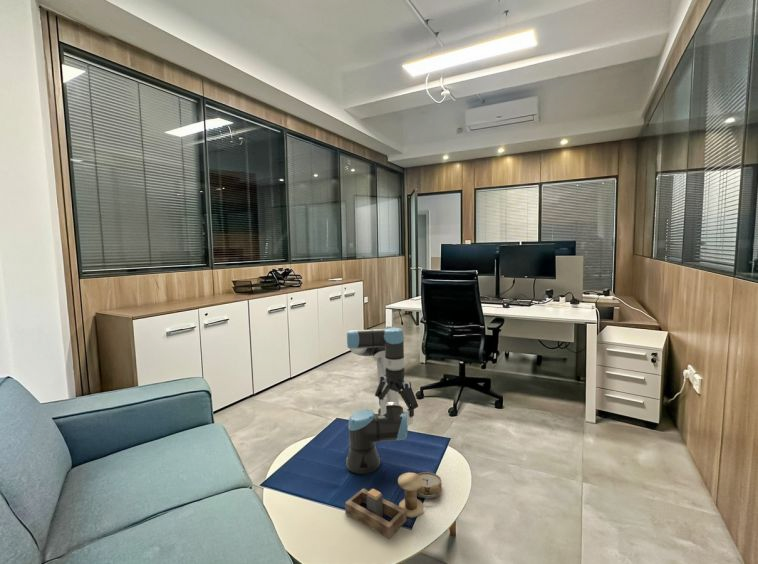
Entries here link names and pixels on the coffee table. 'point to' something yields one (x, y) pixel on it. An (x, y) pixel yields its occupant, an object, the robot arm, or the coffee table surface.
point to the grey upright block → (375, 502)
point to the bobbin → (411, 494)
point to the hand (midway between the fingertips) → (396, 419)
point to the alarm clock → (429, 485)
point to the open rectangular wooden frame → (372, 519)
